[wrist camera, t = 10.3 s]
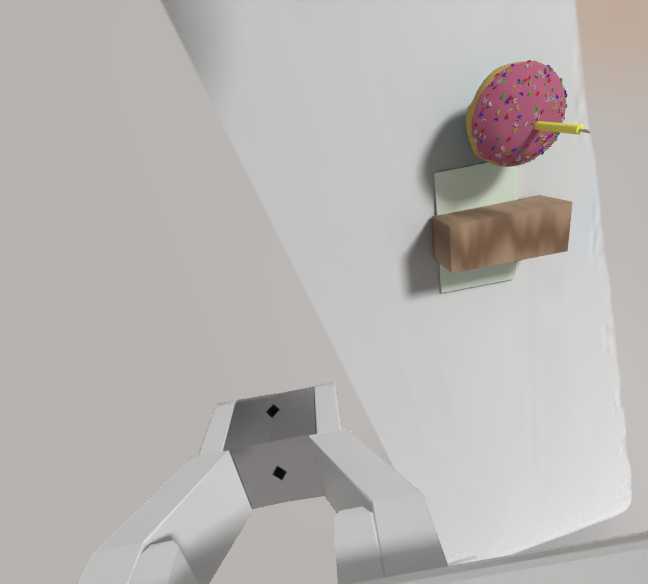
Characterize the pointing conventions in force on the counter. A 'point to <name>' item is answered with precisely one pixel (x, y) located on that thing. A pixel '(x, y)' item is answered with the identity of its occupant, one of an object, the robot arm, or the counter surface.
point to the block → (501, 233)
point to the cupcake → (518, 114)
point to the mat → (467, 193)
